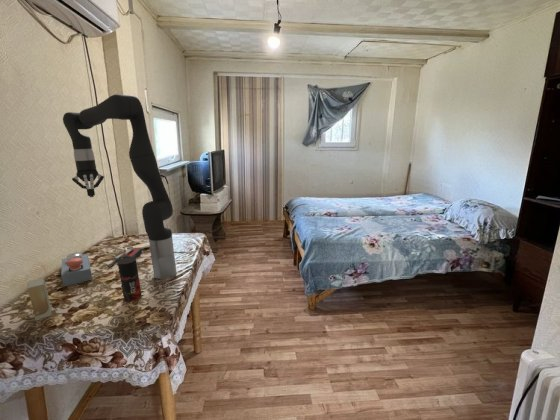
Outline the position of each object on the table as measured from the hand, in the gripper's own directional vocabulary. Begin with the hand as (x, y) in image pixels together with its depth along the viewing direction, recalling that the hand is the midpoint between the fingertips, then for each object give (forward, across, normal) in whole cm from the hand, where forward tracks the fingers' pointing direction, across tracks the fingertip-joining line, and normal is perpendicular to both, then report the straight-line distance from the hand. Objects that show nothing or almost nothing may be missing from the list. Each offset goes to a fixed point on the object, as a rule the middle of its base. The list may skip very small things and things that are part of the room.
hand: (91, 196), depth 136 cm
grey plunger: (+31, -11, -5) cm, 33 cm away
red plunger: (+30, -11, -16) cm, 36 cm away
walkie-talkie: (+33, +9, -6) cm, 34 cm away
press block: (+32, -11, -10) cm, 35 cm away
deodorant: (+32, +5, -47) cm, 57 cm away
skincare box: (+32, -22, -39) cm, 55 cm away
